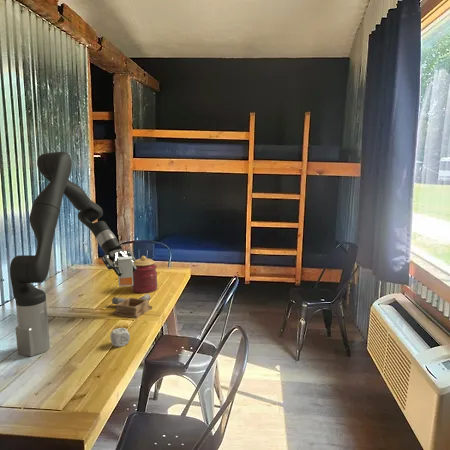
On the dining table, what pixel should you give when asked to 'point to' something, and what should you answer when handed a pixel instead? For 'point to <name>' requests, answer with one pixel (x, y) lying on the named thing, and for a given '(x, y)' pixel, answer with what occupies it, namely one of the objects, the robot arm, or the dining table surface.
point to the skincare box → (125, 271)
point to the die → (120, 337)
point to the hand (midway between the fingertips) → (128, 272)
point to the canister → (144, 276)
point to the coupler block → (132, 306)
